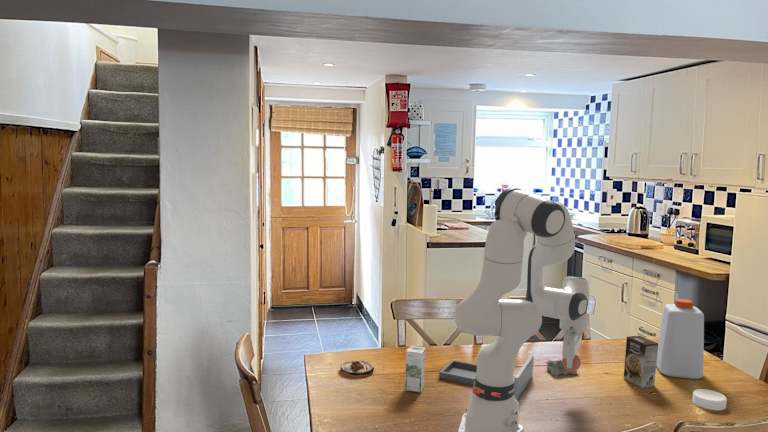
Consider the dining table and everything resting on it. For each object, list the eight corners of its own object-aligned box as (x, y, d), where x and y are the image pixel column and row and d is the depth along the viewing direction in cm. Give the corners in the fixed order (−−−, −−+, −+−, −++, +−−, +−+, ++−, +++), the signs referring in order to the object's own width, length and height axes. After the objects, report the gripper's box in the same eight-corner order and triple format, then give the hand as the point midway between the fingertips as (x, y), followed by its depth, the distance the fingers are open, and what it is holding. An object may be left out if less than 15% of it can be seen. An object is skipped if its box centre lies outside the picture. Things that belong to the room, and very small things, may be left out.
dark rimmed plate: (381, 378, 208) (381, 367, 208) (340, 382, 205) (341, 370, 204) (372, 363, 223) (372, 353, 222) (334, 366, 219) (334, 356, 218)
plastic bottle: (661, 376, 215) (667, 304, 212) (652, 362, 230) (658, 294, 226) (705, 381, 212) (712, 307, 208) (694, 366, 226) (700, 297, 223)
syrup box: (424, 386, 201) (425, 346, 199) (420, 393, 195) (422, 352, 194) (408, 384, 203) (409, 344, 201) (404, 391, 197) (405, 350, 195)
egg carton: (552, 376, 214) (553, 366, 213) (544, 368, 221) (544, 358, 221) (579, 375, 215) (580, 365, 215) (570, 367, 223) (571, 357, 222)
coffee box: (622, 378, 213) (625, 336, 211) (636, 376, 215) (639, 334, 213) (641, 388, 204) (645, 344, 202) (655, 386, 206) (659, 342, 204)
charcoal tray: (476, 386, 203) (476, 379, 202) (439, 378, 209) (439, 371, 208) (487, 372, 215) (487, 366, 215) (452, 365, 221) (452, 359, 221)
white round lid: (696, 395, 200) (696, 385, 199) (728, 404, 193) (729, 394, 193) (688, 404, 192) (689, 394, 192) (722, 414, 186) (723, 404, 185)
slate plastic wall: (516, 401, 191) (518, 378, 190) (513, 400, 192) (514, 377, 191) (532, 376, 213) (533, 355, 212) (529, 375, 213) (530, 354, 212)
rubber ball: (578, 375, 190) (580, 357, 189) (560, 371, 192) (561, 354, 192) (581, 369, 195) (582, 352, 195) (562, 366, 198) (563, 349, 197)
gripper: (579, 333, 182) (576, 375, 183) (586, 318, 200) (584, 357, 201) (558, 330, 184) (556, 371, 186) (567, 315, 203) (565, 354, 204)
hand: (571, 364), depth 194 cm, fingers closed on rubber ball, 6 cm apart
